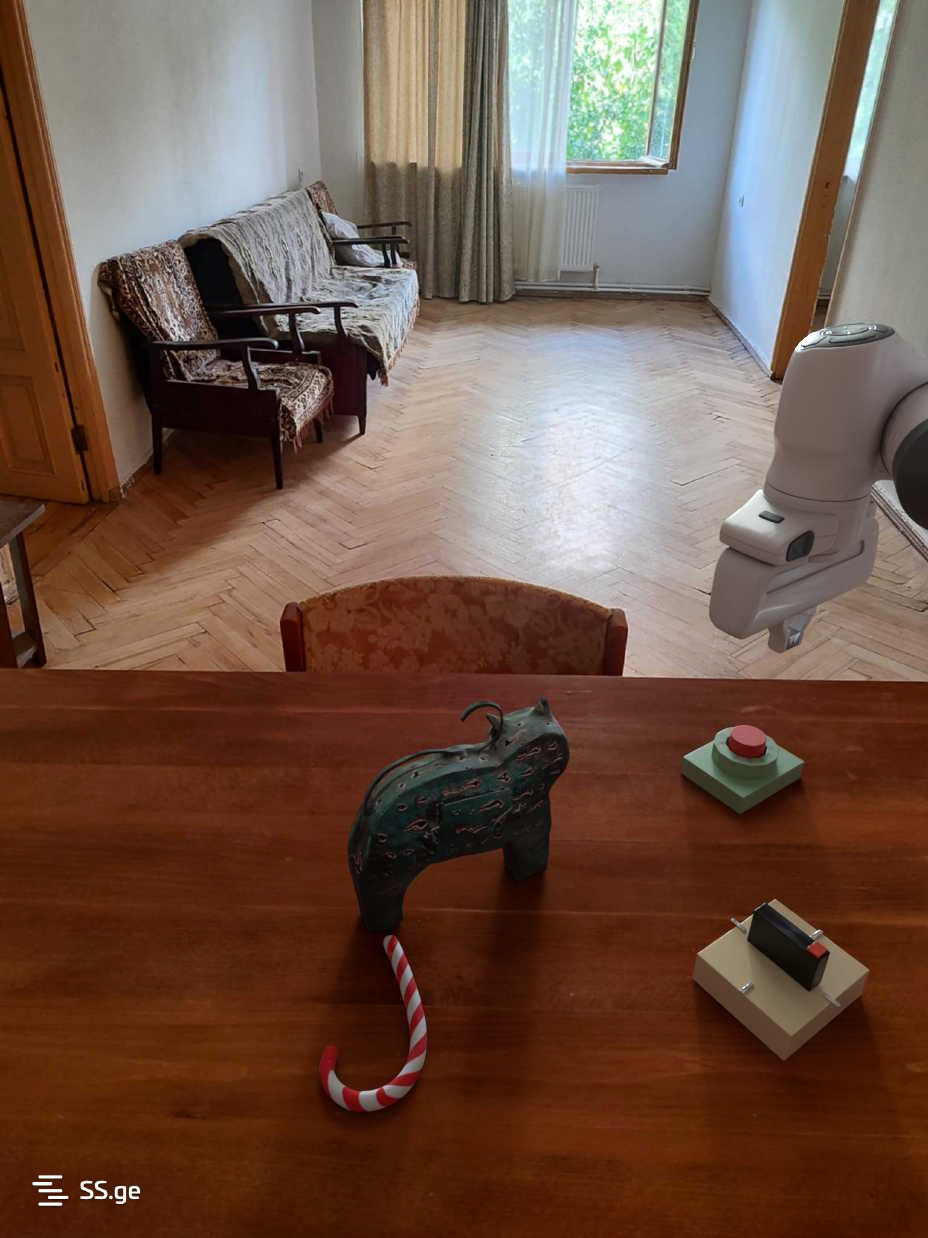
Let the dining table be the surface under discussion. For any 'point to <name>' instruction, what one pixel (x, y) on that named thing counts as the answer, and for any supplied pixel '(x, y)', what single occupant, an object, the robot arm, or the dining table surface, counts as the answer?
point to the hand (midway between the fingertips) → (783, 646)
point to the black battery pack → (788, 946)
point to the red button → (747, 741)
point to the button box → (741, 772)
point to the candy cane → (415, 1061)
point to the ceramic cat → (458, 809)
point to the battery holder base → (777, 986)
